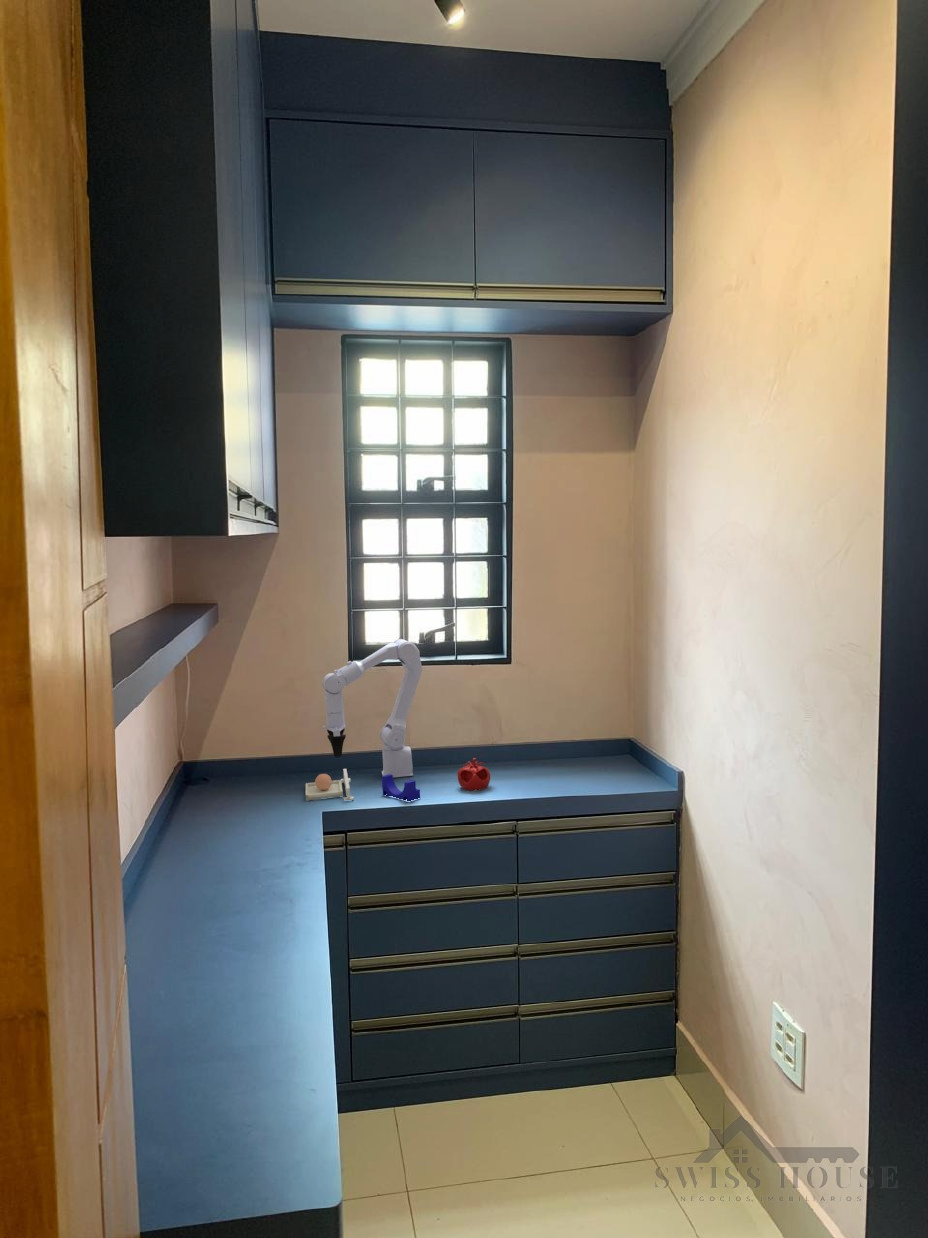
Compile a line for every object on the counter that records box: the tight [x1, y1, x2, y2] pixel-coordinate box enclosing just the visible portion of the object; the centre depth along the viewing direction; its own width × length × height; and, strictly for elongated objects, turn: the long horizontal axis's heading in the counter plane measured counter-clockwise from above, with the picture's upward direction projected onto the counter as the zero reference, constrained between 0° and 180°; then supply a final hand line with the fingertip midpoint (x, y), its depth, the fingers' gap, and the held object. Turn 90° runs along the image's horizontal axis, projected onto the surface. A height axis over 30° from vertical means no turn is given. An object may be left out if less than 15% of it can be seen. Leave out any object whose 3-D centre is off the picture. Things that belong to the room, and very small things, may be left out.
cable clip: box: [381, 774, 421, 801], centre depth 260 cm, size 12×4×6 cm, turn 44°
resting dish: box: [305, 779, 344, 802], centre depth 268 cm, size 11×13×2 cm
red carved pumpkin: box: [456, 757, 491, 792], centre depth 265 cm, size 10×10×9 cm
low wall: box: [340, 768, 355, 801], centre depth 269 cm, size 3×22×4 cm, turn 10°
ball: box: [314, 773, 333, 790], centre depth 268 cm, size 5×5×5 cm
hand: (337, 753), depth 278 cm, fingers open, 7 cm apart
